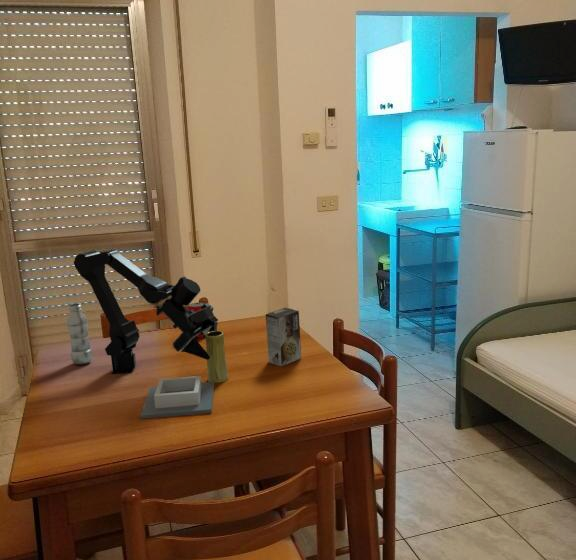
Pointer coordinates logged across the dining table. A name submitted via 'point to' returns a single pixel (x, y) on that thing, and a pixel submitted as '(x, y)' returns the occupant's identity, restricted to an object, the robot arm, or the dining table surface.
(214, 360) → the vase
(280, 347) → the coffee box
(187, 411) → the holder
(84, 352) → the plastic bottle
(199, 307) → the soda can
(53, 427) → the dining table surface
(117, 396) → the dining table surface
